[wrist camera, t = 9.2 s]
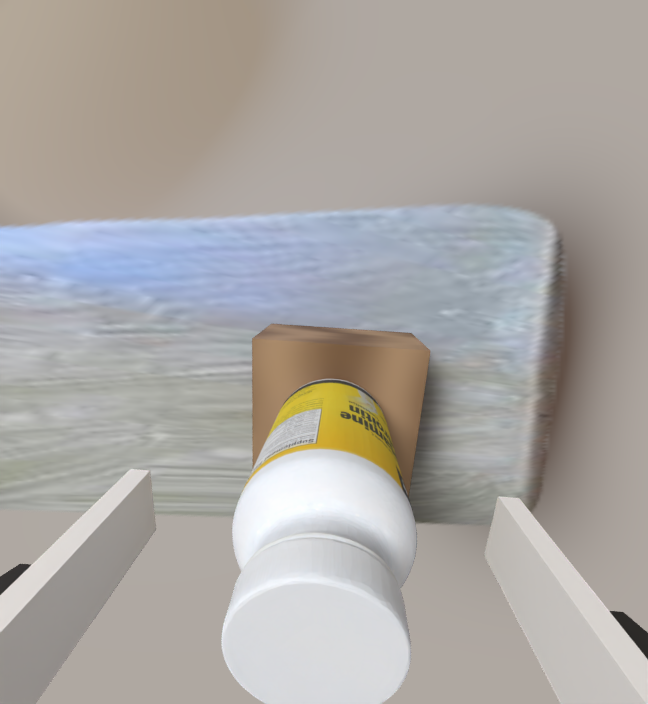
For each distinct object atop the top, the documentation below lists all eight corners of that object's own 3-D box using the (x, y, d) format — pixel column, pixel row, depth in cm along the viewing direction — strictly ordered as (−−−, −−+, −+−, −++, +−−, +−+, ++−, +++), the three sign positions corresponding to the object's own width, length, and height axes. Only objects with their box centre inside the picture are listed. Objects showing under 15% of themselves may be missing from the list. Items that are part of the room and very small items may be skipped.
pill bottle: (392, 464, 19) (464, 739, 8) (290, 478, 20) (224, 749, 9) (376, 365, 18) (438, 532, 6) (267, 383, 18) (147, 565, 7)
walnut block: (269, 446, 25) (252, 488, 20) (271, 323, 22) (252, 338, 18) (394, 456, 25) (407, 502, 20) (411, 332, 22) (430, 350, 17)
